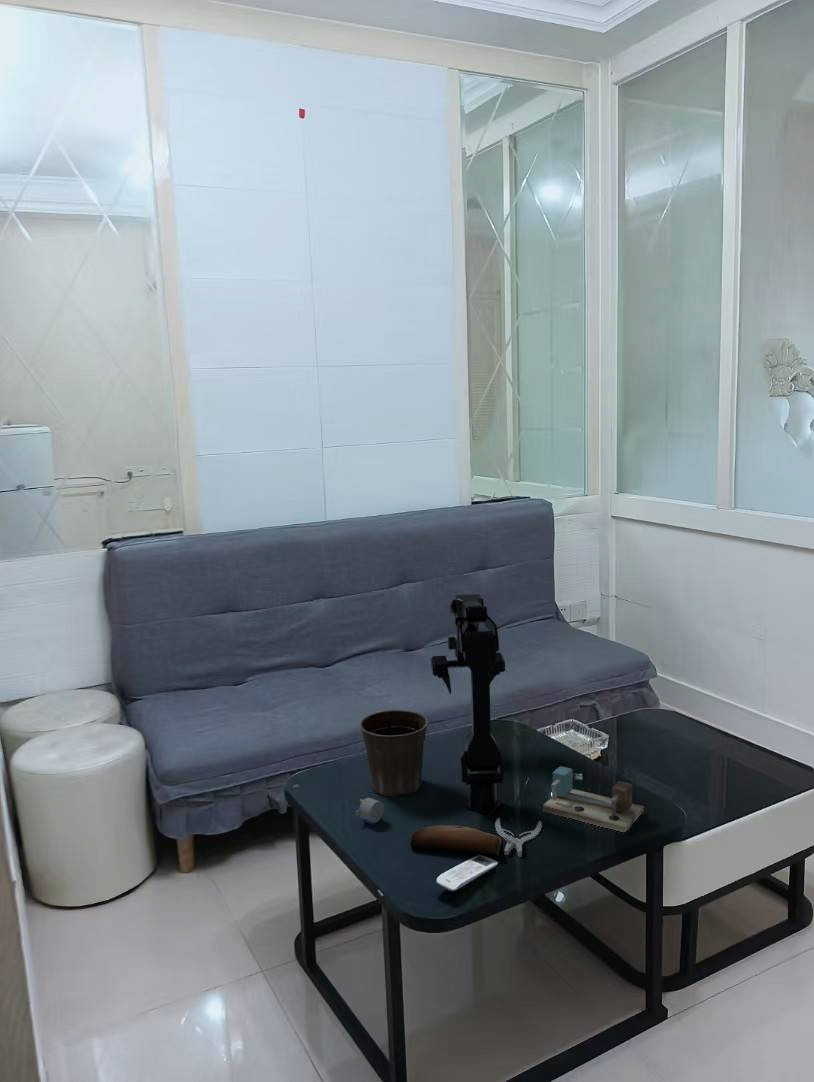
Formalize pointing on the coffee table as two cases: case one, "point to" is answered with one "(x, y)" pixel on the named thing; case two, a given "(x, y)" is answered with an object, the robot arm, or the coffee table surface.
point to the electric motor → (370, 810)
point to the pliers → (516, 842)
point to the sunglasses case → (456, 839)
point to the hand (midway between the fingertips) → (467, 692)
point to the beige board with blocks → (598, 807)
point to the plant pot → (394, 750)
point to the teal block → (561, 782)
